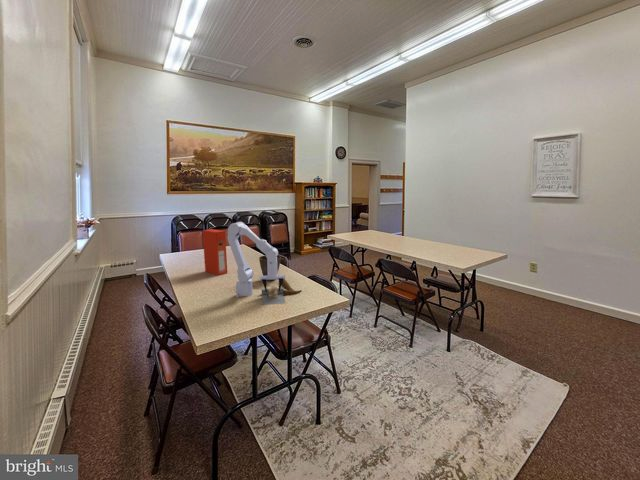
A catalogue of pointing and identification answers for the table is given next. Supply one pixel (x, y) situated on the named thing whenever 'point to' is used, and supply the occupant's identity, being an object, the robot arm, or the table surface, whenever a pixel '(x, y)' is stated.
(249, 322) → the table surface
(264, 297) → the wall board
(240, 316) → the table surface
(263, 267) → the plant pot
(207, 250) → the file binder
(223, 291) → the table surface
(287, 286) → the hammer
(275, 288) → the cabinet block
